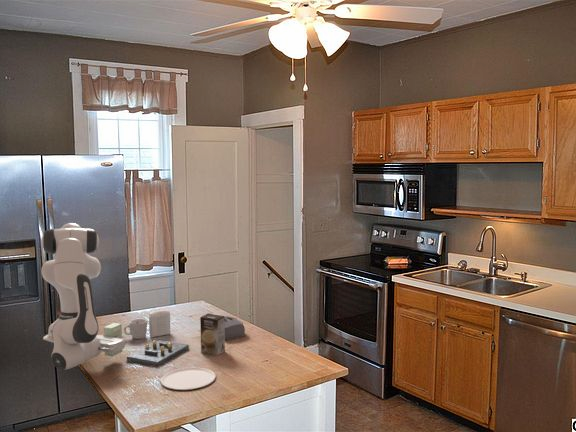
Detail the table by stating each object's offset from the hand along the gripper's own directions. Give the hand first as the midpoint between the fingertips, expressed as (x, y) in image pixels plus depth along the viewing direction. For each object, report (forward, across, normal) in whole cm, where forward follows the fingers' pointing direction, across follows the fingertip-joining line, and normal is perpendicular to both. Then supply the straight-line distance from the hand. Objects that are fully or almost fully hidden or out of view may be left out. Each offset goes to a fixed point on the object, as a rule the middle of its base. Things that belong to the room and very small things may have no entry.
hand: (114, 336), depth 221 cm
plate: (-4, -39, +11) cm, 41 cm away
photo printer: (+35, +4, +11) cm, 37 cm away
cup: (+27, +12, +11) cm, 31 cm away
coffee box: (+25, -32, +11) cm, 42 cm away
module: (-1, 0, +7) cm, 7 cm away
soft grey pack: (+48, -25, +11) cm, 56 cm away
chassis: (+13, -12, +11) cm, 21 cm away
